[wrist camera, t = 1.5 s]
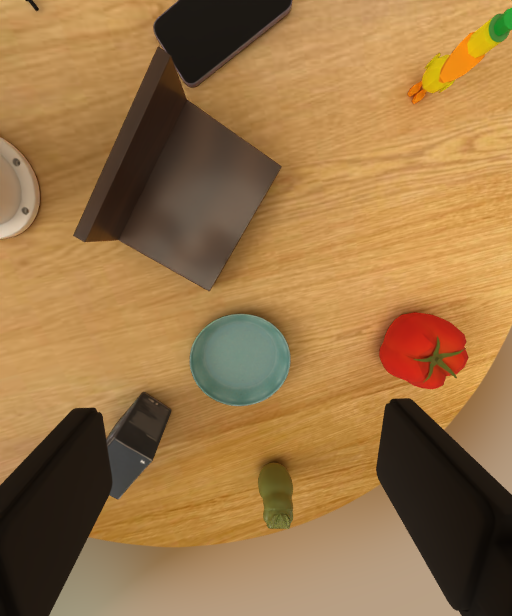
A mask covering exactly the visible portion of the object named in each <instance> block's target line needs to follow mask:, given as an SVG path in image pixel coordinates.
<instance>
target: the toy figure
mask: <svg viewBox="0 0 512 616" xmlns="http://www.w3.org/2000/svg"><path fill="white" fill-rule="evenodd" d="M510 30H512V8H510V9H507V10H506V11H505V12H504V14H497V15H496V16H494V17H493V18H492V19H491V20H489V21H488V22H486V23H485V24H484V25H483V26H482V27H480V28H479V29H478V30H477V31H476V32H472V33H470V34H469V35H468V36H467V37H466V38H465V39H464V40H463V41H462V42H461V43H460V44H459V45H458V46H457V47H456V49H455V50H454V51H453V52H452V53H451V55H444V56H442V57H440V53H438V54H437V55H436V56H435V57H434V58H433V59H432V60H431V61H430V62H429V63H428V64H427V66H426V67H425V68H427V69H426V71H425V73H424V75H423V77H422V81H420V82H419V83H417V84H416V85H414V86H413V87H412V88H411V89H410V90H409V92H408V96H409V97H410V96H413V95H415V94H416V93H417V92H418V91H419V90H420V88H421V87H422V86H423V89H422V90H421V91H419V92H418V93H417V94H416V95H415V96H414V98H413V100H412V102H413V104H415V103H417V102H419V101H420V100H422V98H423V97H424V95H425V93H426V92H427V91H428V92H430V93H435V92H437V91H439V90H440V92H442V91H444V90H445V89H447V88H448V87H449V86H451V85H452V84H453V83H454V81H455V79H457V78H459V77H461V76H463V75H464V74H465V73H467V72H468V71H469V70H470V69H472V68H473V67H474V66H475V65H477V64H478V63H479V62H480V61H481V60H482V59H483V58H484V55H485V53H487V52H488V51H490V50H491V49H492V48H494V47H495V46H496V45H498V44H499V43H501V42H502V41H503V40H505V39H506V38H507V36H508V34H509V32H510ZM439 57H440V58H439ZM425 68H424V69H425ZM440 92H439V93H440Z"/></svg>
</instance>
